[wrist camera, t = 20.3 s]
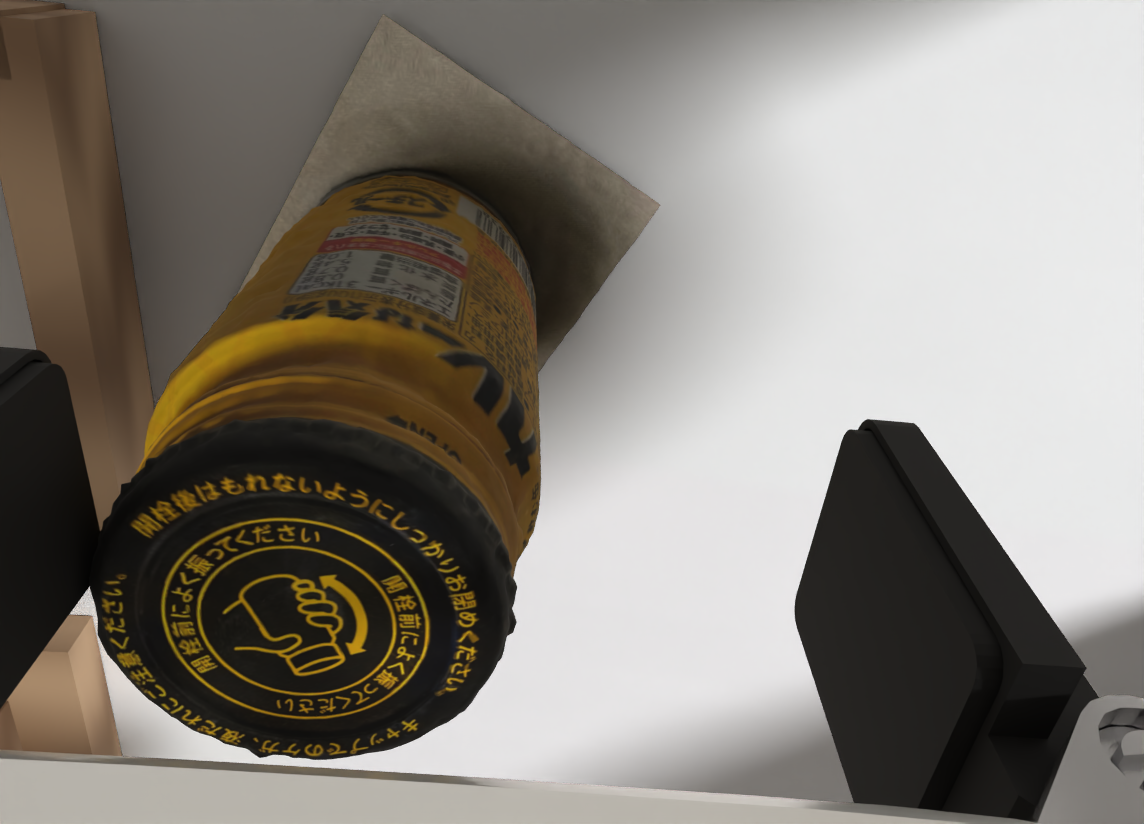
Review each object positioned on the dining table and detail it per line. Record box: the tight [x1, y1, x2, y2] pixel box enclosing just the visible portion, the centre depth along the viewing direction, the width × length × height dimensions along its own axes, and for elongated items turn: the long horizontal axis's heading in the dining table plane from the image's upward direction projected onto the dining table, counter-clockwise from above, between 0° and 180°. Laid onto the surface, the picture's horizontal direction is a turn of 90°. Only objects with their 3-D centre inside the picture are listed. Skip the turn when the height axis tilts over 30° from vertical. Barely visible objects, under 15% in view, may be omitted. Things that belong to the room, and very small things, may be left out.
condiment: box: [89, 14, 660, 760], centre depth 16 cm, size 7×8×12 cm
